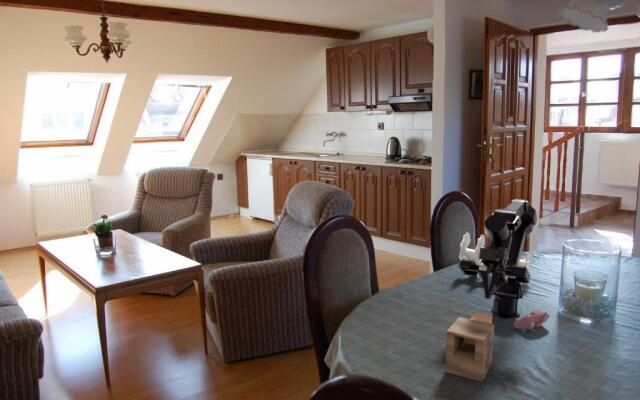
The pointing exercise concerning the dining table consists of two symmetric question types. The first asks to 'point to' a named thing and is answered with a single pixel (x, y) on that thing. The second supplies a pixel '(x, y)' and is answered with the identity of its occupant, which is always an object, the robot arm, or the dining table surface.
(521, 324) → the pink rounded piece
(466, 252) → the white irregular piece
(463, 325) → the sleeve block
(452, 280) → the dining table surface
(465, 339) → the peg
